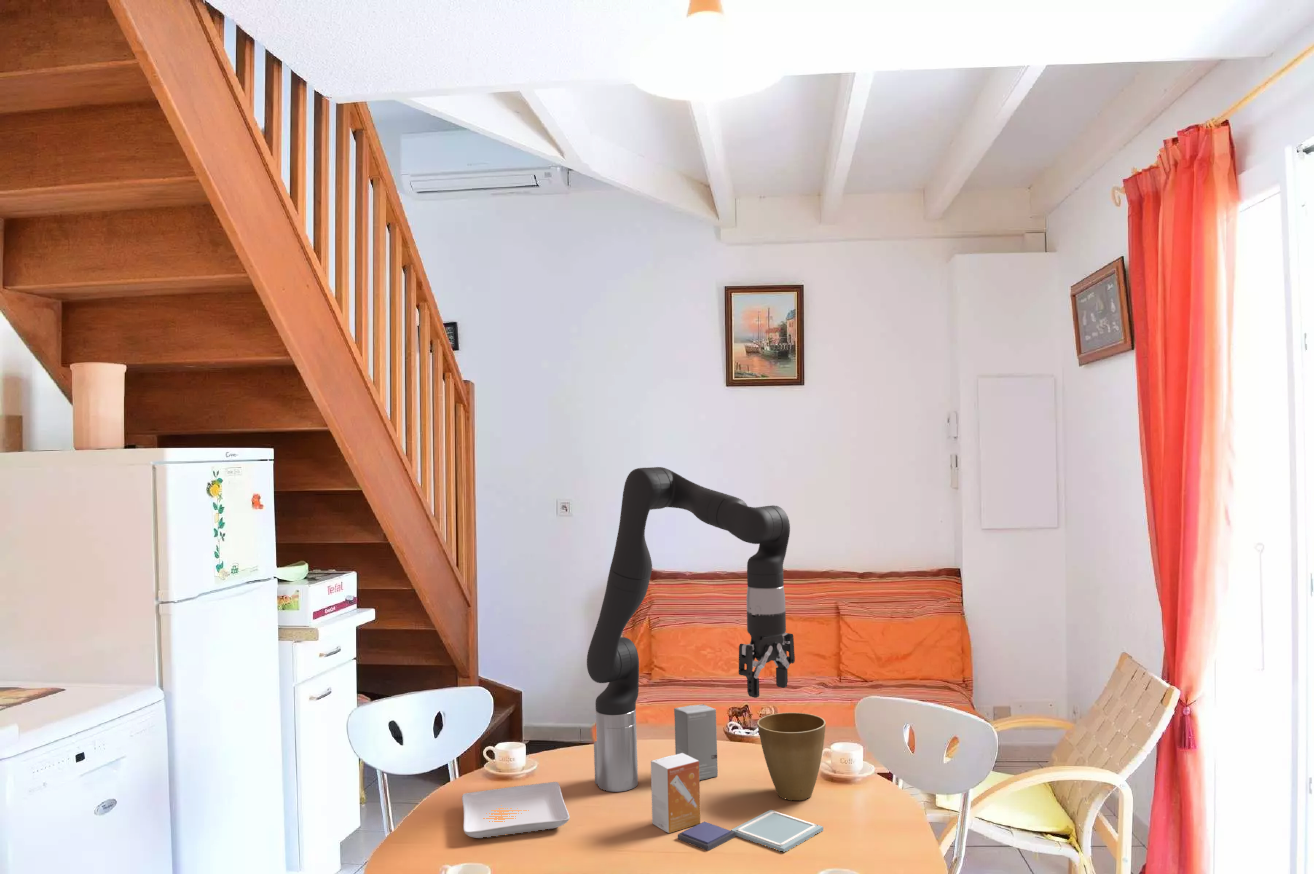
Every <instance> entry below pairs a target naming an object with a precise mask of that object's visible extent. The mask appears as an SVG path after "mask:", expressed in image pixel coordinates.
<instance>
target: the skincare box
mask: <svg viewBox="0 0 1314 874" xmlns="http://www.w3.org/2000/svg"><path fill="white" fill-rule="evenodd" d="M673 712H674V714H673V715H674V743H675V744H674V745H675V746H674V749H675V750H674V753H675V754H674V755H676V754H680V753H684V754H686V755H688V756H690V757H692V758H694V759H696V760H698V761H699V781H702V780H706V779H711V778H717V777H718V775H719V774H718V767H719V766H718V738H717V737H718V735H717V731H718V729H717V709H716V708H715V707H714V708H713V707H711V706H708V705H706V704H704V703H703V704H702V703H701V704H693V705H686V706H679V707H675V708H673Z"/></svg>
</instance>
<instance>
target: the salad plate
mask: <svg viewBox="0 0 1314 874" xmlns="http://www.w3.org/2000/svg"><path fill="white" fill-rule="evenodd" d="M461 801H462V809H463V826H462V828H463V832H464V834H465V835H466V836H468V837H471V838H475V839H484V838H483V837H487V838H492V837H491V836H496V837H499V836H498V835H505V834H513V835H516V834H515V833H521V834H524V833H523V832H528V833H532V832H531V831H535V832H539V831H538V830H542V831H546V830H545V829H548V830H552V829H556V828H559V827H562V826H564V825H566V823H568V822H569V821H570V819H571V818H570V813H569V811H568V809H567V806H566V803H565V801H564V797H563V793H562V788H561V786H560V783H559V782H558V781H550V782H541V783H535V784H534V783H533V784H526V785H525V784H524V785H517V786H509V787H502V788H501V787H500V788H495V789H493V788H492V789H487V790H480V791H472V792H465V793H463V794H462V796H461ZM501 805H502V806H501ZM496 808H497V809H496ZM498 808H504V809H500V810H522V811H519V812H518V811H513V812H512V811H509V812H504V813H517V814H510V815H509V814H508V815H502V816H508V817H503V818H514V819H505V820H498V819H497V820H494V819H486V818H495V817H489V816H501V815H494V814H493V815H491V813H499V812H497V811H496V812H494V811H491V810H499V809H498ZM505 808H506V809H505ZM507 808H508V809H507ZM510 808H512V809H510ZM517 808H518V809H517ZM523 810H527V811H523ZM528 810H529V811H528ZM486 813H487V814H486ZM489 813H490V814H489ZM502 813H503V812H502ZM518 813H519V814H518ZM521 813H522V814H521ZM509 816H510V817H509ZM511 816H514V817H511ZM515 816H516V817H515ZM483 818H485V819H483ZM497 818H498V817H497ZM515 818H516V819H515ZM489 821H490V822H489ZM492 821H493V822H492ZM494 821H503V822H494ZM504 821H505V822H504ZM505 836H506V835H505Z"/></svg>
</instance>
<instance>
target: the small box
mask: <svg viewBox="0 0 1314 874" xmlns="http://www.w3.org/2000/svg"><path fill="white" fill-rule="evenodd" d="M650 776H651V778H650V780H651V782H650V783H651V785H650V787H651V789H650V790H651V818H652V819H651V823H652V824H653V825H654V826H655V827H657V828H659V829H661V830H662V831H663V832H666V833H668V834H671V833H674V832H677V831H681V830H683V829H686V828H692V827H694V826H696V825H698V824H700V823H701V796H700V795H701V792H700V790H701V789H700V788H701V787H700V785H701V784H700V781H701V780H699V761H698V760H696V759H694V758H692V757H690V756H688V755H686V754H684V753H680V754H672V755H668V756H667V755H666V756H664V757H661V758H656V759H654V760H651V761H650Z"/></svg>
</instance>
